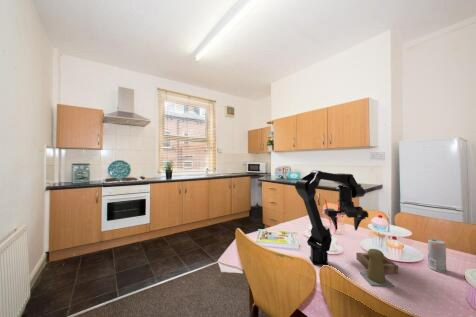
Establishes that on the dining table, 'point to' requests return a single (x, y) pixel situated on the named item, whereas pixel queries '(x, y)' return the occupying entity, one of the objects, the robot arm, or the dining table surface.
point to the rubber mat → (386, 284)
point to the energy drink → (437, 255)
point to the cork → (376, 266)
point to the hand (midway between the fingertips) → (346, 230)
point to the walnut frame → (387, 264)
